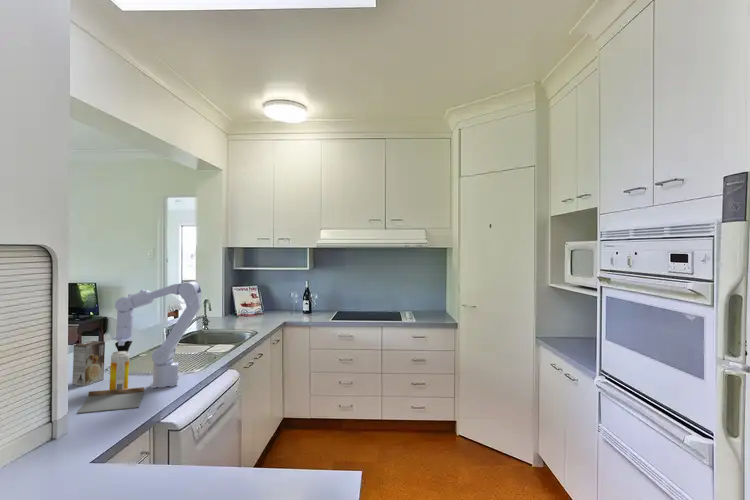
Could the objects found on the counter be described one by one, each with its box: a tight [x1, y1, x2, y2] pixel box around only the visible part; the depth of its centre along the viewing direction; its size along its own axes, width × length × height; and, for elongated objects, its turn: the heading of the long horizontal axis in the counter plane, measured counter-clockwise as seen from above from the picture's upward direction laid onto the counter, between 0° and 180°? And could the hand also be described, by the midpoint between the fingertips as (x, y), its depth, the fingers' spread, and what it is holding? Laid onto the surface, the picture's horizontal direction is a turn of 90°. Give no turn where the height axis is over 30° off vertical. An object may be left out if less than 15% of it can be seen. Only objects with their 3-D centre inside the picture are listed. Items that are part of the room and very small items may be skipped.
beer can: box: [108, 350, 130, 390], centre depth 161 cm, size 6×6×15 cm
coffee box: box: [71, 340, 106, 387], centre depth 170 cm, size 9×6×16 cm
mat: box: [76, 391, 145, 415], centre depth 149 cm, size 18×17×1 cm
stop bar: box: [87, 386, 145, 397], centre depth 157 cm, size 18×1×2 cm, turn 114°
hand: (122, 359), depth 168 cm, fingers closed
